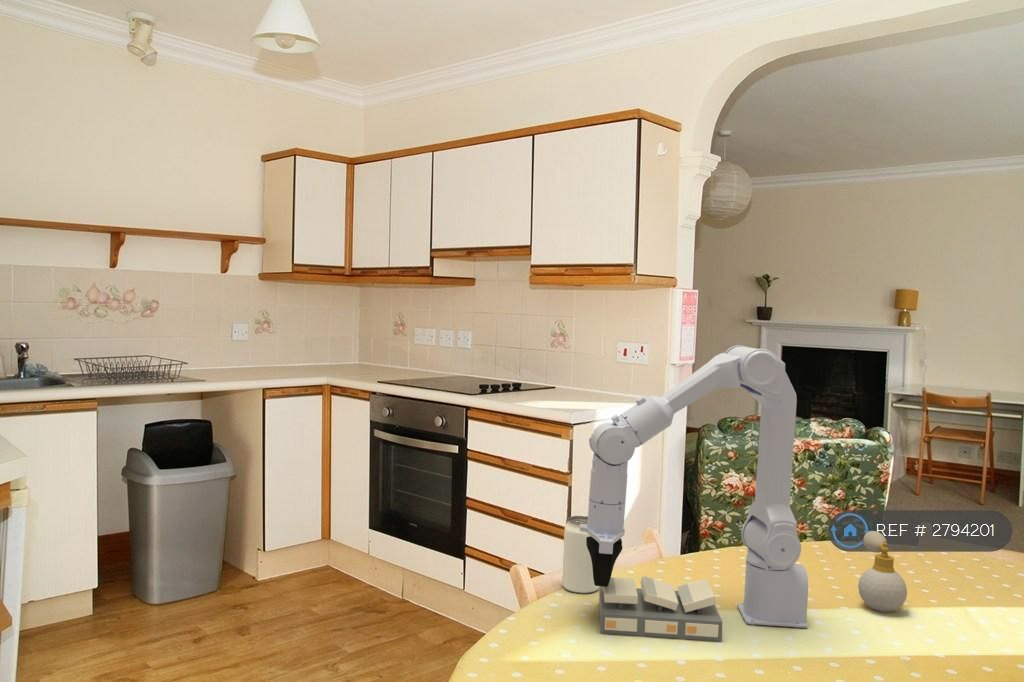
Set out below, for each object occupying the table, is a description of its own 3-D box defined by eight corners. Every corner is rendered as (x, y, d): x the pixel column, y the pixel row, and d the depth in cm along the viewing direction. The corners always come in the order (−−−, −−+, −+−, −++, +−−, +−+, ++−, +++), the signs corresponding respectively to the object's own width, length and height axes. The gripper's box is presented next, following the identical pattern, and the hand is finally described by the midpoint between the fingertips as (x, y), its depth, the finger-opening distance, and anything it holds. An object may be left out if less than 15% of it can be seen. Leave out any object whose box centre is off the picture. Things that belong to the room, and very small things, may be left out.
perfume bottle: (880, 620, 132) (885, 547, 131) (837, 598, 141) (841, 530, 140) (916, 615, 134) (920, 543, 134) (871, 594, 143) (875, 527, 143)
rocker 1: (634, 585, 132) (634, 577, 132) (637, 603, 124) (637, 595, 124) (603, 584, 132) (603, 576, 132) (604, 602, 124) (604, 594, 124)
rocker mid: (670, 591, 131) (672, 584, 131) (676, 610, 123) (678, 602, 123) (640, 582, 132) (642, 574, 132) (644, 600, 124) (646, 592, 124)
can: (597, 596, 138) (600, 526, 137) (559, 592, 139) (562, 523, 139) (600, 583, 144) (603, 516, 144) (564, 579, 146) (567, 513, 145)
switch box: (709, 610, 133) (710, 588, 133) (721, 642, 121) (723, 617, 121) (598, 603, 134) (599, 581, 134) (600, 634, 122) (601, 609, 122)
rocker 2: (708, 585, 131) (706, 577, 131) (717, 603, 123) (714, 595, 123) (678, 593, 131) (676, 586, 131) (685, 612, 123) (682, 604, 123)
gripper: (581, 487, 135) (576, 567, 136) (581, 509, 121) (575, 599, 121) (624, 491, 134) (618, 571, 135) (629, 513, 120) (622, 603, 121)
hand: (601, 584), depth 128 cm, fingers closed, pressing on rocker 1
